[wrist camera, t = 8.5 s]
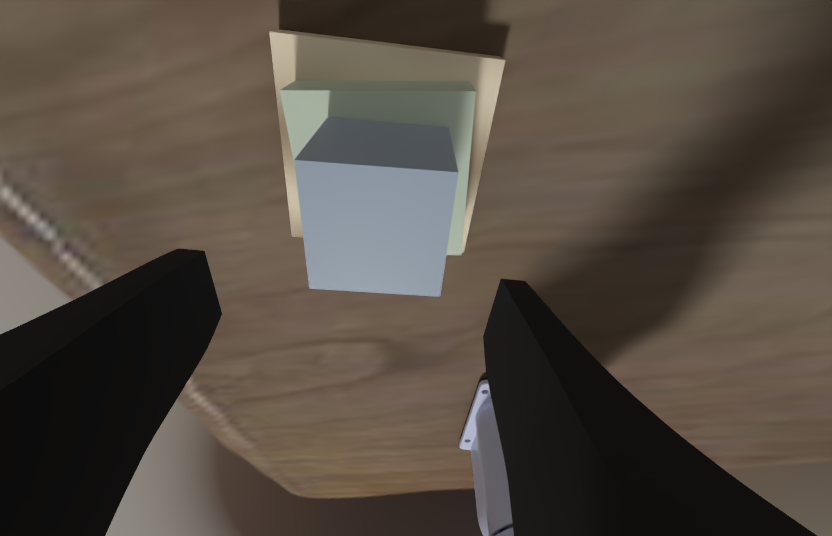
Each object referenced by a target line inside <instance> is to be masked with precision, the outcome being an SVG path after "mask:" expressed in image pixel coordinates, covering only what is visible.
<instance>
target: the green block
mask: <svg viewBox="0 0 832 536" xmlns="http://www.w3.org/2000/svg"><path fill="white" fill-rule="evenodd" d="M280 95H281V100H282V105H283V110H284V115H285V120H286V125H287V130H288V135H289V140H290V146H291V151H292V156H293V161H294V159H295V158H296V157H297V156H298V154H299V153H300V152H301V150H302V149H303V148H304V147H305V145H306V144H307V143H308V141H309V140H310V139H311V138H312V136H313V135H314V134H315V133H316V131H317V130H318V129H319V127H320V126H321V125H322V124H323V122H324V121H325V120H326V119H327V117H328V118H341V119H353V120H366V121H378V122H391V123H403V124H416V125H428V126H441V127H448V128H449V133H450V137H451V141H452V146H453V150H454V155H455V159H456V163H457V168H458V172H459V173H458V180H457V186H456V193H455V200H454V206H453V213H452V220H451V227H450V233H449V240H448V247H447V254H446V255H461V253H462V242H463V231H464V219H465V208H466V197H467V185H468V174H469V163H470V152H471V140H472V129H473V118H474V106H475V95H476V91H475V89H474V87H473V85H472V83H471V82H470V81H325V80H295V81H294V82H292V83H290V84H289V85H287V86H286V87H284V88H282V89H281V90H280ZM294 166H295V164H294Z"/></svg>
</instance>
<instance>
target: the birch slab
mask: <svg viewBox="0 0 832 536" xmlns="http://www.w3.org/2000/svg"><path fill="white" fill-rule="evenodd" d="M269 33H270V42H271V51H272V60H273V69H274V78H275V87H276V96H277V105H278V114H279V124H280V133H281V142H282V151H283V160H284V169H285V178H286V187H287V196H288V205H289V214H290V224H291V233H292V236H293V237H303V231H302V222H301V214H300V206H299V197H298V189H297V181H296V172H295V166H294V161H293V156H292V151H291V146H290V140H289V135H288V130H287V125H286V120H285V115H284V110H283V105H282V100H281V95H280V90H281V89H282V88H284V87H286V86H287V85H289V84H290V83H292V82H294V81H295V80H325V81H470V82H471V83H472V85H473V87H474V89H475V91H476V95H475V106H474V118H473V129H472V140H471V152H470V163H469V174H468V185H467V197H466V208H465V219H464V231H463V242H462V253H464V249H465V245H466V240H467V235H468V231H469V226H470V221H471V217H472V212H473V208H474V203H475V198H476V194H477V189H478V184H479V180H480V175H481V171H482V166H483V161H484V157H485V152H486V147H487V143H488V138H489V133H490V129H491V124H492V120H493V115H494V110H495V106H496V101H497V96H498V92H499V87H500V83H501V78H502V73H503V69H504V64H505V60H504V59H503V58H502V57H500V56H494V55H485V54H477V53H469V52H461V51H452V50H444V49H436V48H428V47H420V46H411V45H403V44H395V43H387V42H378V41H370V40H362V39H354V38H346V37H337V36H329V35H321V34H313V33H304V32H296V31H288V30H280V29H279V30H274V31H270V32H269Z"/></svg>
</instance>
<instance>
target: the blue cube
mask: <svg viewBox="0 0 832 536" xmlns="http://www.w3.org/2000/svg"><path fill="white" fill-rule="evenodd" d="M294 164H295V172H296V181H297V189H298V197H299V206H300V214H301V222H302V231H303V239H304V247H305V256H306V264H307V272H308V281H309V288H310V289H326V290H342V291H358V292H374V293H390V294H406V295H422V296H438V297H440V294H441V287H442V281H443V274H444V267H445V260H446V254H447V247H448V240H449V233H450V227H451V220H452V213H453V206H454V200H455V193H456V186H457V180H458V173H459V172H458V168H457V163H456V159H455V155H454V150H453V146H452V141H451V137H450V133H449V128H448V127H441V126H428V125H416V124H403V123H391V122H378V121H366V120H353V119H341V118H328V117H327V119H326V120H325V121H324V122H323V124H322V125H321V126H320V127H319V129H318V130H317V131H316V133H315V134H314V135H313V136H312V138H311V139H310V140H309V141H308V143H307V144H306V145H305V147H304V148H303V149H302V150H301V152H300V153H299V154H298V156H297V157H296V158H295V159H294Z"/></svg>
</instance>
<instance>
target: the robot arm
mask: <svg viewBox="0 0 832 536" xmlns="http://www.w3.org/2000/svg"><path fill="white" fill-rule="evenodd" d="M221 315H222V312H221V308H220V305H219V301H218V298H217V294H216V291H215V287H214V283H213V280H212V276H211V273H210V269H209V266H208V262H207V259H206V255H205V251H199V250H188V249H176V250H174V251H171V252H169V253H167V254H165V255H162V256H160V257H158V258H156V259H154V260H152V261H150V262H148V263H146V264H144V265H142V266H140V267H138V268H136V269H134V270H132V271H130V272H128V273H126V274H125V275H123V276H121V277H119V278H117V279H115V280H113V281H111V282H109V283H107V284H105V285H103V286H101V287H99V288H97V289H95V290H93V291H91V292H89V293H87V294H85V295H83V296H81V297H79V298H77V299H75V300H73V301H71V302H69V303H67V304H65V305H63V306H61V307H58V308H56V309H54V310H53V311H50V312H48V313H46V314H44V315H42V316H39V317H37V318H35V319H33V320H31V321H29V322H27V323H25V324H23V325H20V326H18V327H16V328H14V329H12V330H9V331H7V332H5V333H3V334H0V536H105V535H106V532H107V530H108V528H109V526H110V524H111V521H112V519H113V517H114V515H115V513H116V510H117V508H118V506H119V504H120V502H121V500H122V498H123V495H124V493H125V491H126V489H127V487H128V485H129V483H130V481H131V479H132V477H133V475H134V473H135V471H136V469H137V467H138V465H139V463H140V461H141V459H142V457H143V455H144V453H145V451H146V449H147V447H148V445H149V444H150V442H151V440H152V438H153V437H154V435H155V433H156V432H157V430H158V429H159V427H160V425H161V424H162V422H163V420H164V419H165V417H166V416H167V414H168V412H169V411H170V409H171V407H172V406H173V404H174V403H175V401H176V399H177V398H178V396H179V395H180V393H181V391H182V390H183V388H184V386H185V385H186V383H187V382H188V380H189V378H190V377H191V375H192V373H193V372H194V370H195V368H196V367H197V365H198V363H199V362H200V360H201V358H202V357H203V355H204V353H205V351H206V350H207V348H208V345H209V343H210V341H211V339H212V337H213V334H214V332H215V330H216V327H217V325H218V322H219V320H220V317H221ZM483 338H484V352H485V364H486V374H487V379H488V380H482V381H481V382H480V383H479V386H478V389H477V392H476V395H475V398H474V400H473V403H472V406H471V409H470V412H469V415H468V418H467V421H466V424H465V427H464V430H463V433H462V436H461V439H460V442H459V445H460V448H461V449H464V450H471V457H472V466H473V476H474V485H475V495H476V504H477V514H478V520H479V525H480V529H481V531H482V534H483V536H817V535H815V534H814V533H812V532H811V531H809V530H808V529H807V528H805V527H804V526H802V525H801V524H799V523H798V522H796V521H795V520H794V519H792V518H791V517H789V516H787V515H786V514H785V513H784V512H782V511H780V510H779V509H778V508H776V507H775V506H773V505H772V504H771V503H769V502H768V501H766V500H765V499H763V498H762V497H760V496H759V495H758V494H756V493H755V492H754V491H752V490H751V489H749V488H748V487H747V486H745V485H744V484H743V483H741V482H740V481H738V480H737V479H736V478H734V477H733V476H732V475H730V474H729V473H728V472H726V471H725V470H724V469H722V468H721V467H720V466H718V465H717V464H716V463H715V462H713V461H712V460H711V459H709V458H708V457H707V456H705V455H704V454H703V453H702V452H700V451H699V450H698V449H696V448H695V447H694V446H693V445H691V444H690V443H689V442H687V441H686V440H685V439H684V438H682V437H681V436H680V435H679V434H678V433H676V432H675V431H674V430H673V429H671V428H670V427H669V426H668V425H667V424H665V423H664V422H663V421H662V420H661V419H660V418H658V417H657V416H656V415H655V414H654V413H653V412H652V411H650V410H649V409H648V408H647V407H646V406H645V405H644V404H642V403H641V402H640V401H639V400H638V399H637V398H635V397H634V396H633V395H632V394H631V393H630V392H629V391H628V390H627V389H626V388H625V387H624V386H622V385H621V384H620V383H619V382H618V381H617V380H616V379H615V378H614V377H613V376H612V375H611V374H610V373H609V372H608V371H607V370H606V369H605V368H604V367H603V366H602V365H601V364H600V363H599V362H598V361H597V360H596V359H595V358H594V357H593V356H592V355H591V354H590V353H589V352H588V351H587V350H586V349H585V348H584V347H583V345H582V344H581V343H580V342H579V341H578V340H577V339H576V338H575V337H574V336H573V335H572V334H571V332H570V331H569V330H568V329H567V328H566V327H565V326H564V325H563V324H562V322H561V321H560V320H559V319H558V318H557V317H556V316H555V314H554V313H553V312H552V311H551V310H550V309H549V308H548V306H547V305H546V304H545V303H544V302H543V301H542V300H541V298H540V297H539V296H538V295H537V294H536V293H535V291H534V290H533V289H532V288H531V287H530V286H529V285H528V284H527V283H526V282H525V281H519V280H508V279H501V280H500V284H499V287H498V290H497V293H496V297H495V300H494V303H493V306H492V310H491V313H490V316H489V319H488V323H487V326H486V329H485V333H484V336H483Z"/></svg>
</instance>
